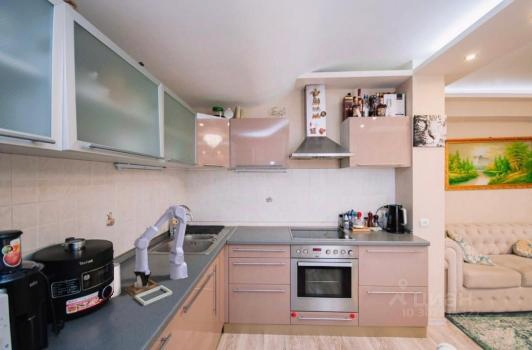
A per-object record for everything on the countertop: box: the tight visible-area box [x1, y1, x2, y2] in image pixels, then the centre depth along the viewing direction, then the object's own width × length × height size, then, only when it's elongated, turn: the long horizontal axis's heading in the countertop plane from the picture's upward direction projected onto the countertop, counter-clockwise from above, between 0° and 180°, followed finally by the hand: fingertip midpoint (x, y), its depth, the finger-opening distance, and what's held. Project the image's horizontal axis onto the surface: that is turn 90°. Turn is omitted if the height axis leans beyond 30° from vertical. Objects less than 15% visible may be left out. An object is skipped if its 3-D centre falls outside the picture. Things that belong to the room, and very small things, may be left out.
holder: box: [123, 278, 160, 299], centre depth 130 cm, size 14×14×3 cm
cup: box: [110, 262, 122, 299], centre depth 125 cm, size 8×8×16 cm
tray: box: [134, 285, 173, 308], centre depth 122 cm, size 14×11×2 cm
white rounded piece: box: [133, 275, 148, 290], centre depth 130 cm, size 7×5×7 cm
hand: (142, 284), depth 130 cm, fingers open, 5 cm apart
